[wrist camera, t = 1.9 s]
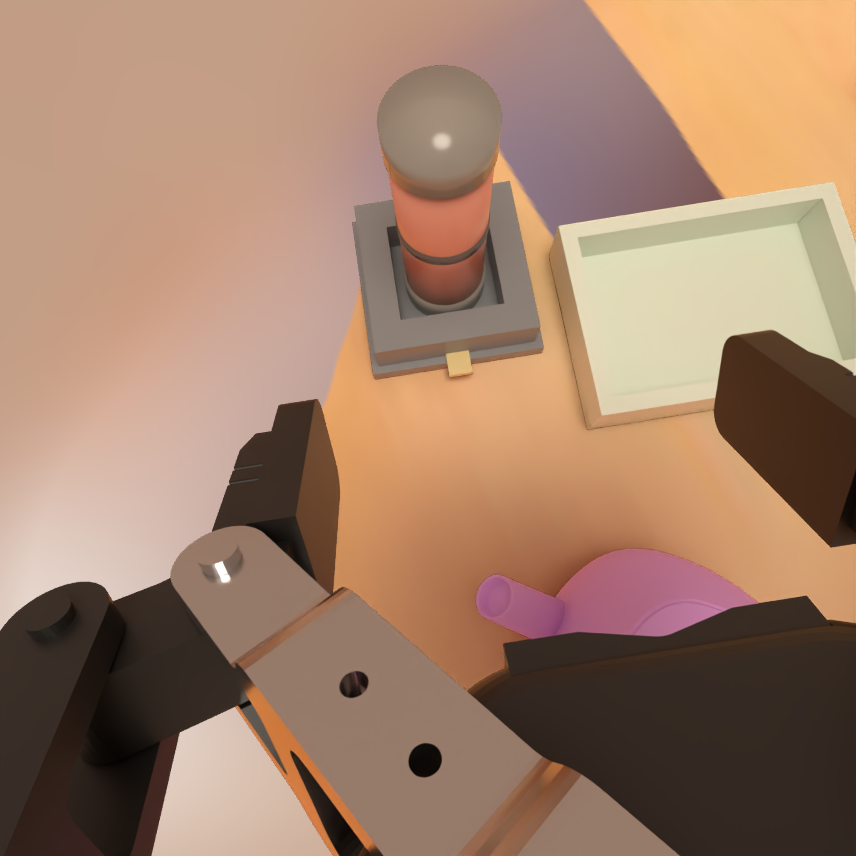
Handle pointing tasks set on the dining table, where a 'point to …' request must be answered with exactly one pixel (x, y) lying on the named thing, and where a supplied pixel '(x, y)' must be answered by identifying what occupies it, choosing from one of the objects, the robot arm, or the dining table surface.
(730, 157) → the dining table surface
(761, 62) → the dining table surface
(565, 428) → the dining table surface
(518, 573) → the dining table surface
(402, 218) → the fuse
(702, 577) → the teapot
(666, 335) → the parts tray
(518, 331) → the socket block
